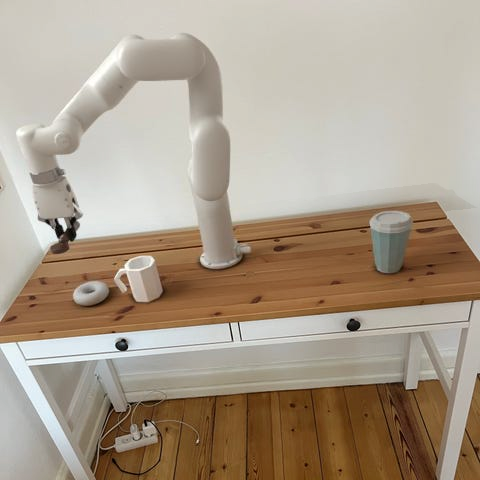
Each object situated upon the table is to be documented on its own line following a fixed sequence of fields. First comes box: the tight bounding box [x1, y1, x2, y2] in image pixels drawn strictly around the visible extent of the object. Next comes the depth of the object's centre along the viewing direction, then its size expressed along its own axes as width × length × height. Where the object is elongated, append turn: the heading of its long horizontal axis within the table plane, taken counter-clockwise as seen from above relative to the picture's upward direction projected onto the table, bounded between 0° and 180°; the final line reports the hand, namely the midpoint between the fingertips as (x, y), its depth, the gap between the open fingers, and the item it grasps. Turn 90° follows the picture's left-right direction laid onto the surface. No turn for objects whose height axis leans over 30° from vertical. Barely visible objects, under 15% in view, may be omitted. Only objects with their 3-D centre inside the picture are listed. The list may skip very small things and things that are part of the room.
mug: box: [113, 255, 163, 303], centre depth 146 cm, size 12×9×10 cm
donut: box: [72, 280, 110, 307], centre depth 150 cm, size 10×4×10 cm
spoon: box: [49, 220, 81, 255], centre depth 147 cm, size 16×5×2 cm, turn 175°
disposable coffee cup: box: [369, 210, 414, 274], centre depth 139 cm, size 11×11×15 cm
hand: (68, 239), depth 148 cm, fingers closed on spoon, 2 cm apart
